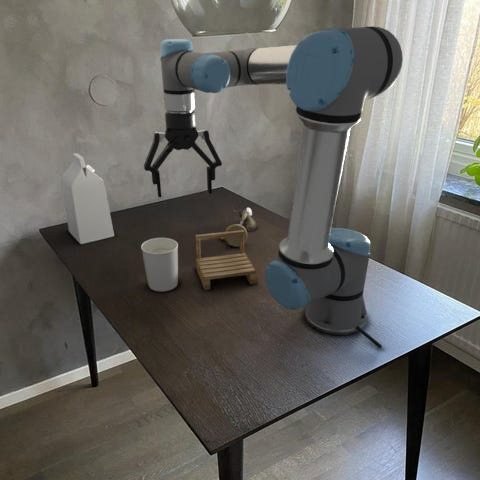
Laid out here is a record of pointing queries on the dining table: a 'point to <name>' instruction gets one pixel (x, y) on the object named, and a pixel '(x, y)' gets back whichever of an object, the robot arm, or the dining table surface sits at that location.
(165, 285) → the candle holder
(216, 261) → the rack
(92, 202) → the milk
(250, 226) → the eagle figurine
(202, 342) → the dining table surface
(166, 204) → the dining table surface
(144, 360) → the dining table surface
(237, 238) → the mug
